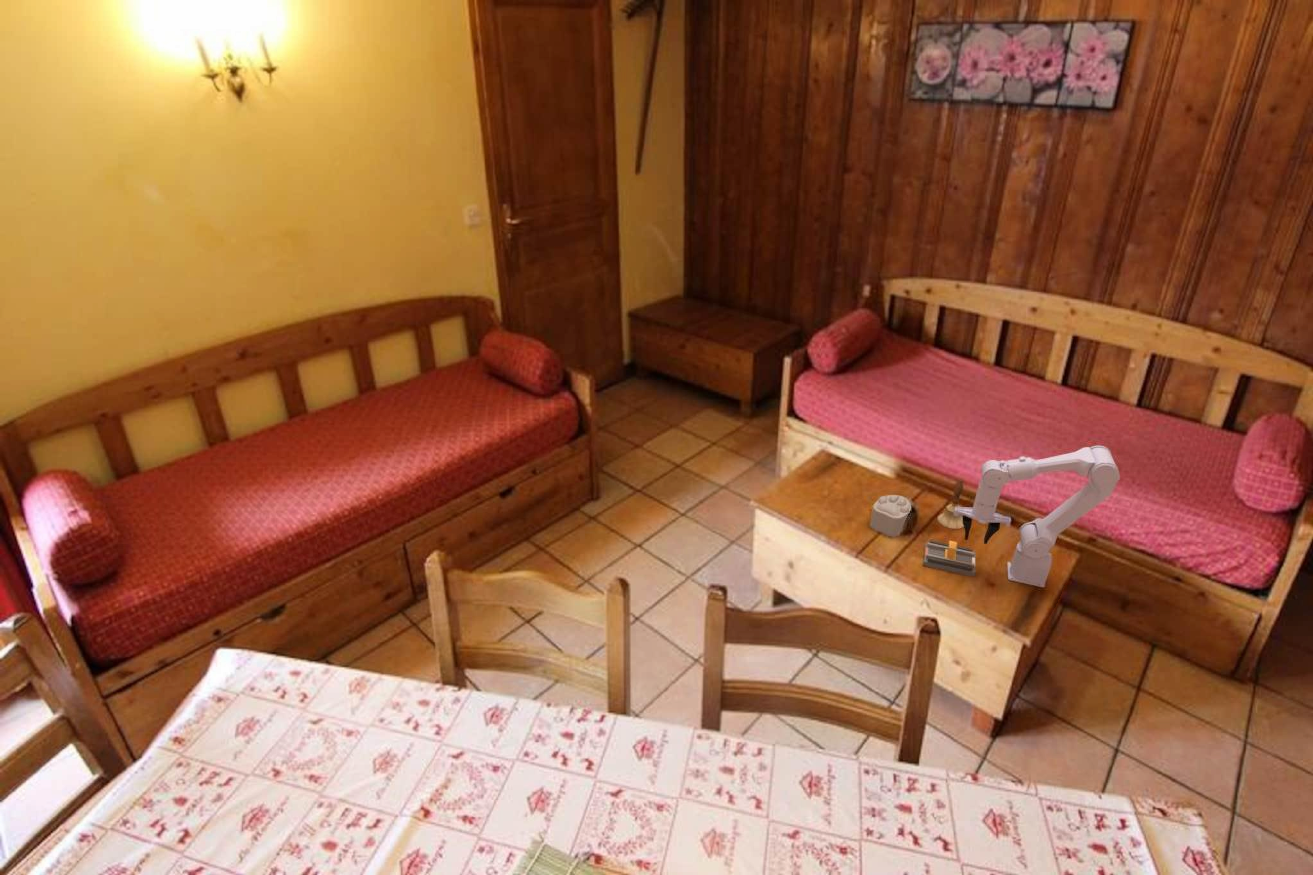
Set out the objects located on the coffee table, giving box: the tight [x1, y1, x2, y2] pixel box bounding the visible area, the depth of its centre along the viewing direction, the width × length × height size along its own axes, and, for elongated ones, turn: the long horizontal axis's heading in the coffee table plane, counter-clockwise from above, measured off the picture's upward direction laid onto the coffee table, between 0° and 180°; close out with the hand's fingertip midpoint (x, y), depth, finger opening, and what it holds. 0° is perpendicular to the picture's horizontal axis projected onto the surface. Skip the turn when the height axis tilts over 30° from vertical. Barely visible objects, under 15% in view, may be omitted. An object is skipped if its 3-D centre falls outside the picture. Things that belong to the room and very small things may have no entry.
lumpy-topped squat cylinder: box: [869, 494, 912, 538], centre depth 227 cm, size 10×13×9 cm
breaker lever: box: [945, 540, 958, 560], centre depth 211 cm, size 3×4×4 cm
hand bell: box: [937, 478, 964, 530], centre depth 226 cm, size 8×8×16 cm
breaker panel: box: [922, 539, 976, 578], centre depth 212 cm, size 14×10×3 cm
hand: (975, 539), depth 207 cm, fingers open, 4 cm apart
